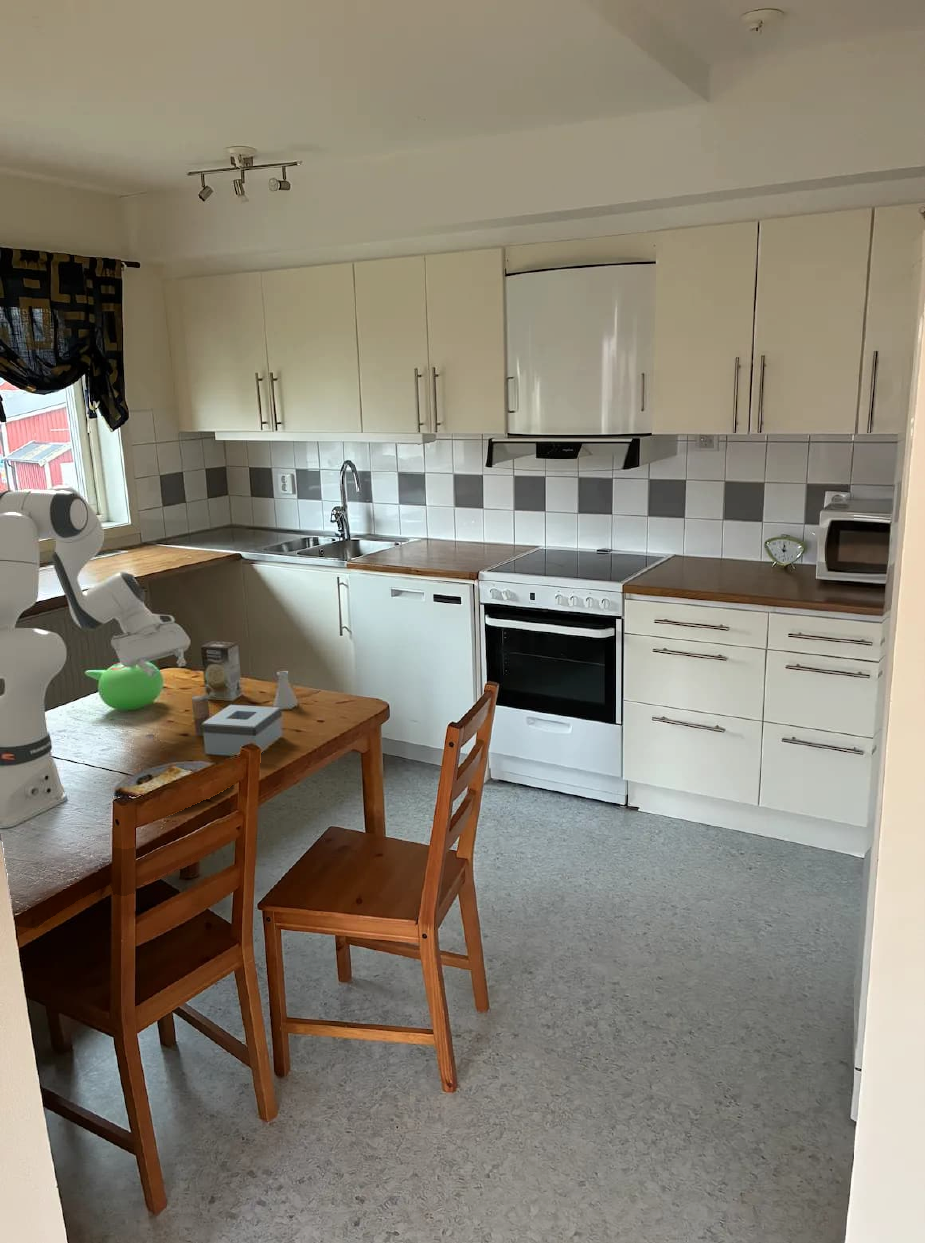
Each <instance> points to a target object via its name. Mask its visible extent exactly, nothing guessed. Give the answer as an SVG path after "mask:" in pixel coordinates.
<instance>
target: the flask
mask: <svg viewBox="0 0 925 1243" xmlns="http://www.w3.org/2000/svg"><path fill="white" fill-rule="evenodd" d="M276 675H277V678H278V684H277V688H276V694H275V695H276V696H275V698H274V702H273V706H272V707H279V708H280V709H281V711H282V710H292V709H294V708H296V707H298V705H299V701H298V699H297V697H296V696H295V695H296V694H295V693H294V691H293V689H292V687H291V684H290V681H289V677H288V676H289V671H287V670H281V671H278V672H276ZM295 706H296V707H295ZM293 707H294V708H293Z"/></svg>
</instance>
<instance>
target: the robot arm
mask: <svg viewBox="0 0 925 1243" xmlns="http://www.w3.org/2000/svg"><path fill="white" fill-rule="evenodd" d="M47 539H48V540H49V539H54V540H55V549H54V552H53V553H52V555H51V559H52V561H51V562H52V565H53V568H54V570H55V573H56V576H57V578H58V581H59V584H60V585H61V586H60V587H61V588H62V590H63V591H62V592H63V593H64V596H65V597H66V601H67V603H68V606H69V607H68V608H69V612H70V616H71V618H72V619H73V621H74V622H75V624H76V625H77V626H78V627H79V628H80V629H82V630H86V631H97V630H98V629H100V628H101V627H102V626H104V625H105V624H106V623H108V622H110V621H111V620H113V619H115V620H117V622H118V624H119V626H120V629H121V631H122V632H123V633H121V634H117V635H113V637H112V638H111V639H110V645H111V646H112V648H113V650H114V651H115V652H116V653H115V654H116V655H117V658H118V659H119V660H118V661H119V663H120V662H121V663H122V665H123V666H125V667H131V666H134V665H138V666H139V668H141V669H143V670H144V671H146V672H147V673H148V675H149V676H151V675H154V674H155V673H156V669H154V666H149V665H148V664H146V663H145V662H152V661H155V660H159V659H161V658H166V657H169V656H173V655H174V656H176V657H177V658H178V659H177V660H176V664H177V665H178V667H180V668H181V667H184V666H186V664H187V661H186V660H185V658H184V652H186V651H187V650H188V649H189V647H190V646H191V639H190V637H189V635H187V633H186V632H185V629H183V628H182V626H181V625H179V624H178V623H175V620H176V619H175V617H174V616H172V615H171V614H170V615H168V614H157V613H152V612H151V610H150V609H148V607H146V605H145V598H146V592H145V591H144V589H143V588H142V587H141V586H140V585H139V583H138V580H137V578H136V576H134V575H133V574H131V573H128V572H125V571H120V572H117V573H114V574H113V575H111V576H109V577H107V578H106V579H104V580H103V581H101V582H99V583H98V584H95V585H94V586H92V587H90V588H89V589H86V590H82V588H81V587H82V586H80V582H79V580H78V577H79V575H80V573H81V571H82V570H83V568H84V567H85V566H86V565H87V564H88V563H90V561H91V560H92V559H93V558H94V557H95V556H96V555H98V553H99V552H100V551H101V549H102V546H103V544H104V542H105V541H104V539H105V531H104V528H103V525H102V523H101V521H100V519H99V517H98V515H97V514H96V512H95V511H94V509H93V508H92V507H91V505H90V504H89V503H88V501H87V500H86V499H85V498H84V497H83V496H82V495H81V493H79V492H78V491H77V489H75V488H73V487H72V486H69V485H66V484H64V485H63V484H60V485H55V486H53V487H50V488H49V489H37V488H30V489H19V490H11V489H10V490H8V489H7V490H3V491H0V680H1V679H2V680H3V681H4V693H3V694H1V695H0V829H6V828H13V827H15V826H17V825H19V824H21V823H23V822H25V821H27V820H30V819H32V818H35V817H36V816H38V815H40V814H42V813H44V812H46V811H48V810H50V809H52V808H54V807H56V806H58V805H60V804H62V803H64V802H65V801H67V800H68V796H67V793H65V788H64V786H63V785H62V781H61V779H60V778H61V777H60V775H59V771H58V767H57V764H56V761H55V760H54V757H53V755H52V751H51V750H52V749H53V745H52V744H53V743H52V739H51V735H50V732H48V727H47V721H46V720H47V719H46V712H45V711H46V709H45V699H46V698H45V697H46V692H47V689H48V686H49V685H50V682H51V681H52V679H53V678H54V677H55V676H56V675H58V674H59V673H60V672H61V671H62V669H63V667H64V665H65V663H66V661H67V646H66V644H65V641H64V640H63V639H62V637H61V636H60V635H59V634H58V633H57V632H53V631H50V630H45V629H40V628H37V627H30V628H29V627H16V623H17V621H18V620H19V618H20V616H21V614H23V612H24V611H26V610H28V609H30V608H31V607H33V606H34V605H35V604H36V602H37V600H38V597H39V586H40V585H39V584H40V583H39V582H40V565H41V564H40V562H41V561H40V560H41V558H40V556H41V555H40V554H41V553H40V551H41V550H40V540H47Z"/></svg>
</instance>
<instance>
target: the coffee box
mask: <svg viewBox="0 0 925 1243" xmlns="http://www.w3.org/2000/svg"><path fill="white" fill-rule="evenodd" d="M200 652H201V663H202V664H201V665H202V673H203V684H204V692H205V694H204V695H207V696H208V700H213V701H214V700H217V701H227V702H233V701H235V700H236V699H237V698H239V697H241V696H243V690H242V689H243V686H242V679H241V678H242V677H241V666H240V664H241V663H240V653H239V643H238V642H229V641H217V640H211V641H209V642H207V643H205V644H203V645H200Z"/></svg>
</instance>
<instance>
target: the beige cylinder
mask: <svg viewBox="0 0 925 1243" xmlns="http://www.w3.org/2000/svg"><path fill="white" fill-rule="evenodd" d="M191 702H192V703H191V705H192V711H193V721H194V731H195V736H197V737H204V735H203V732H202V730H201V725H202V723H203V722H205V721H206V720H208V719H209V718H211V715H210V714H211V713H210V707H209V706H210V704H209V699H208V696H207V695H205V694H197V695H194V696H192V697H191Z"/></svg>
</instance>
